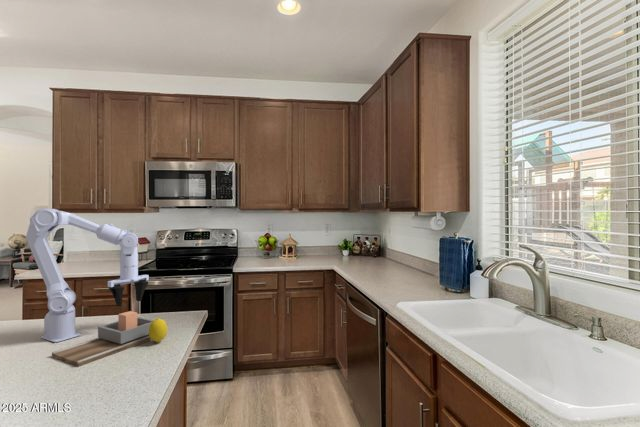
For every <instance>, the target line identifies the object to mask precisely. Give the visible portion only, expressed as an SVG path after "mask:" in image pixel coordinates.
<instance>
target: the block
mask: <svg viewBox="0 0 640 427" xmlns="http://www.w3.org/2000/svg"><path fill="white" fill-rule="evenodd" d="M137 317H138V312H136V311H131V310H129V311H125V312H122V313H118V317H117V318H118V319H117V321H118V322H119V331H124V330H127V329H131V328H134V327H137Z"/></svg>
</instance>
